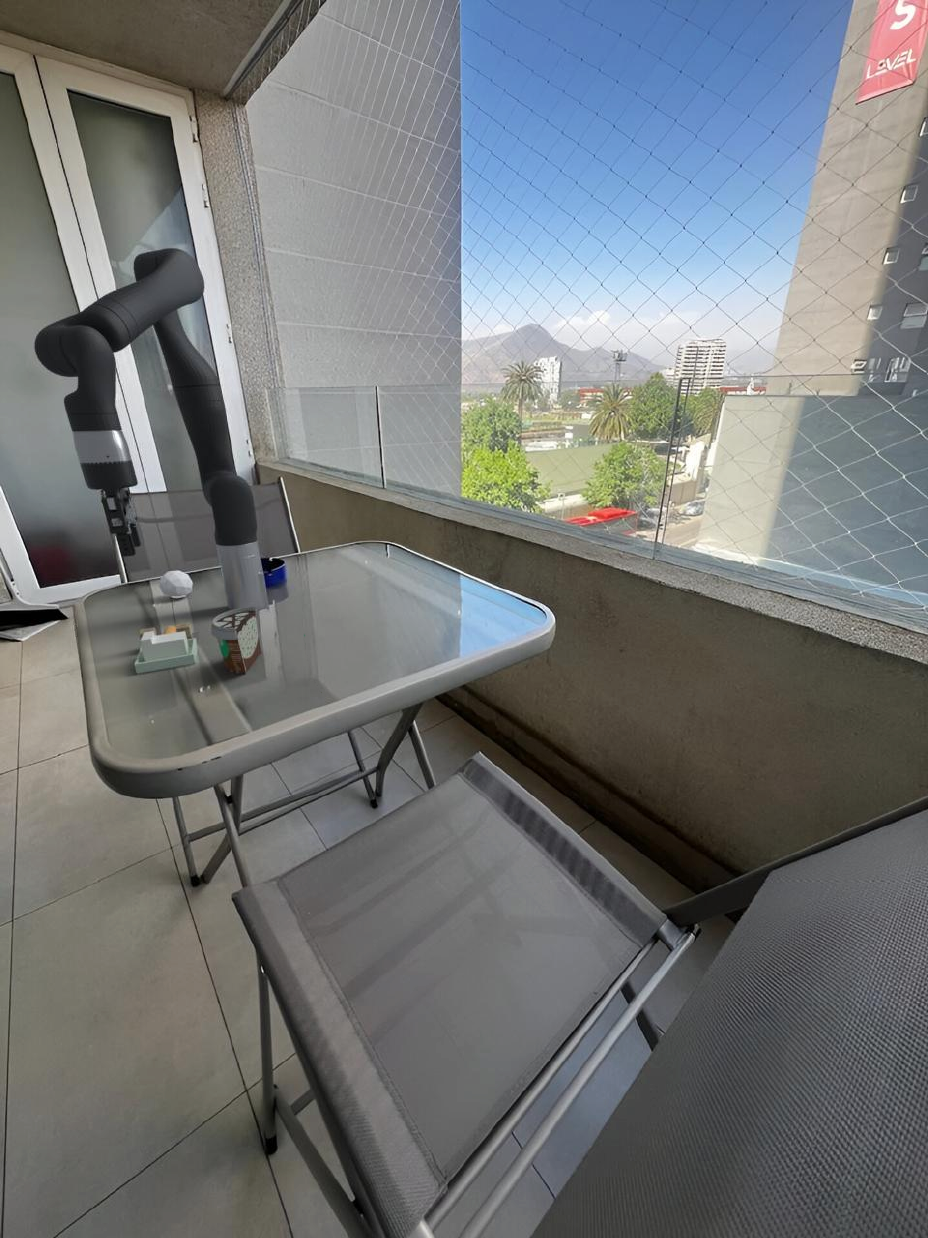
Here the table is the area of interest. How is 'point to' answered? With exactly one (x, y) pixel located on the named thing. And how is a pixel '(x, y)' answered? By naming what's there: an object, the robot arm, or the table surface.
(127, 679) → the table surface
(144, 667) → the tray
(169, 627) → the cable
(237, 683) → the table surface
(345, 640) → the table surface
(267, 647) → the table surface
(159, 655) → the white notched block
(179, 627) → the tan blocks
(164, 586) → the ball
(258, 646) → the food container
